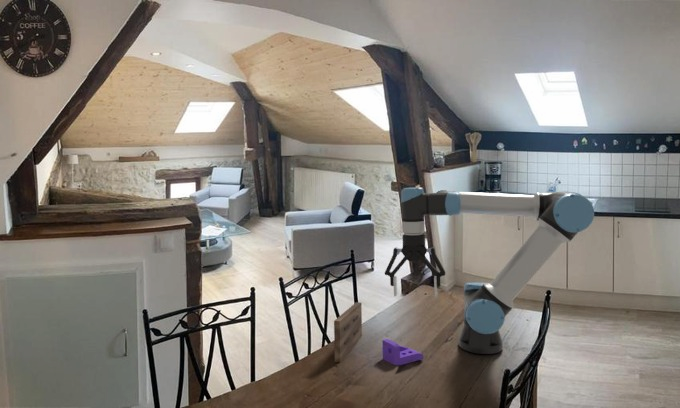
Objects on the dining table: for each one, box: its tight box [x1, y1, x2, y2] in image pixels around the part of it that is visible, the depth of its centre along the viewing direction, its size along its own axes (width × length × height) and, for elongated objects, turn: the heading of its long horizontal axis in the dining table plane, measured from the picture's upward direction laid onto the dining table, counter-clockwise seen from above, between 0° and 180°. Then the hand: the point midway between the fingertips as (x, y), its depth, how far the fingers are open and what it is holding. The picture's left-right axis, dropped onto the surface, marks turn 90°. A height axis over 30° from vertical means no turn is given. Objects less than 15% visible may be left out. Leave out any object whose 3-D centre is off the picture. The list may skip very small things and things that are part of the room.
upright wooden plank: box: [333, 301, 363, 363], centre depth 177 cm, size 2×24×14 cm, turn 160°
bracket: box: [381, 338, 424, 366], centre depth 168 cm, size 12×7×7 cm, turn 121°
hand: (415, 295), depth 168 cm, fingers open, 13 cm apart
